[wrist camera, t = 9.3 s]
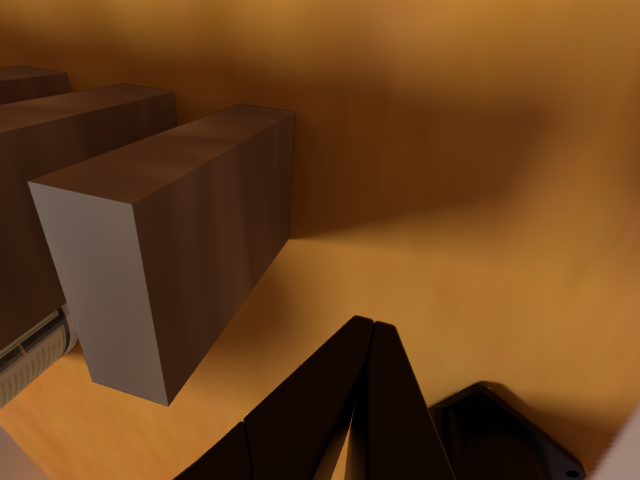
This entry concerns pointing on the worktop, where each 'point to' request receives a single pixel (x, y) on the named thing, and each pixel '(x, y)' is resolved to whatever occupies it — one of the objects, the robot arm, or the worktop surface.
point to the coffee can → (35, 352)
